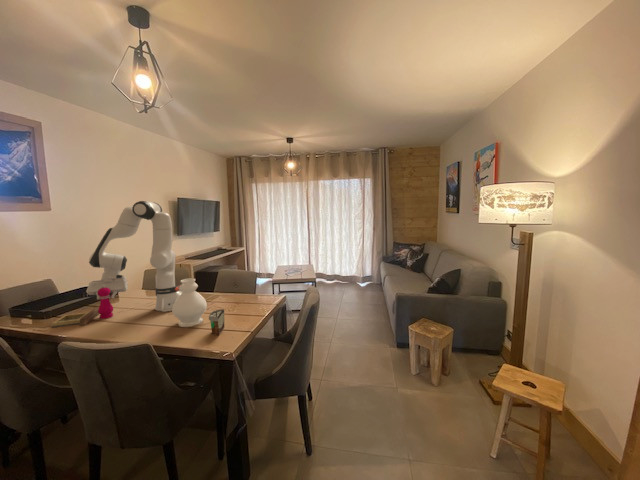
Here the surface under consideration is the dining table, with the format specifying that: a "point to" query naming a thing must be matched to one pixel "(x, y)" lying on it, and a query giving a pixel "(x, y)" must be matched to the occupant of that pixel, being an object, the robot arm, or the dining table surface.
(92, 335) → the dining table surface
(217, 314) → the food container
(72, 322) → the index plate
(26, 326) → the dining table surface
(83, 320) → the walnut sill
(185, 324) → the decorative vase
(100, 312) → the pepper mill
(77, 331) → the dining table surface
